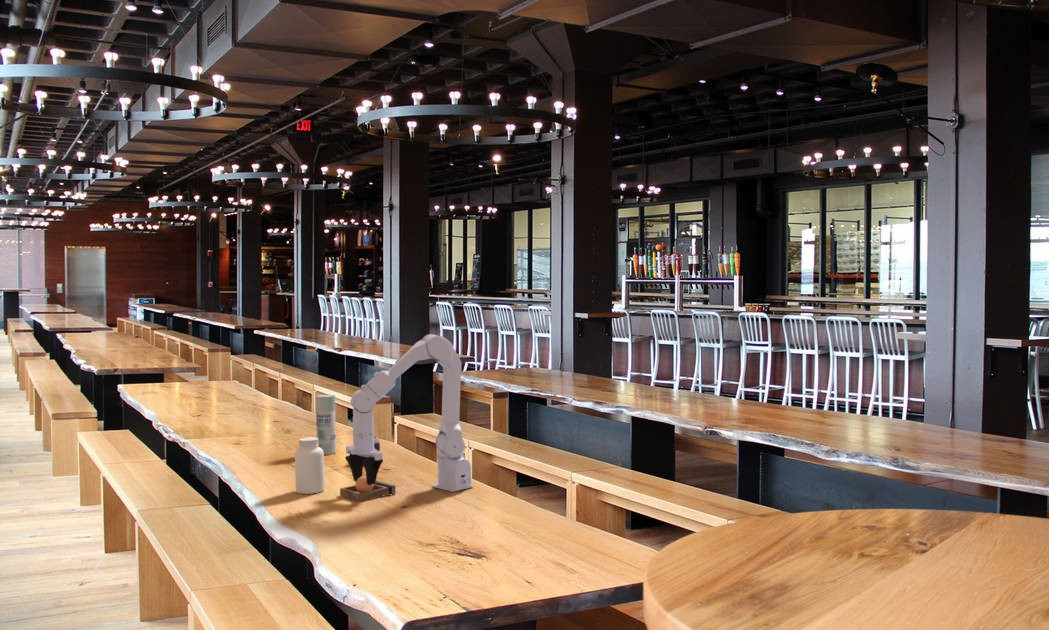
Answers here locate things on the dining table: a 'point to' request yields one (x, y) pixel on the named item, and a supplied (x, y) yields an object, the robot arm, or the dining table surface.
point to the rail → (390, 486)
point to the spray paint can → (326, 423)
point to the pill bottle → (309, 466)
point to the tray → (354, 494)
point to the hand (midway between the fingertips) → (364, 482)
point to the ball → (363, 485)
